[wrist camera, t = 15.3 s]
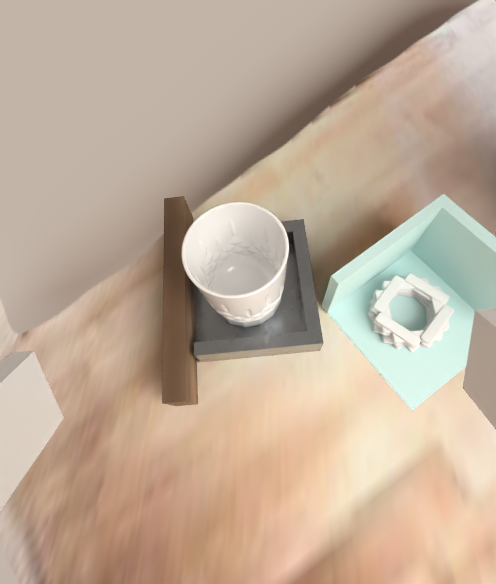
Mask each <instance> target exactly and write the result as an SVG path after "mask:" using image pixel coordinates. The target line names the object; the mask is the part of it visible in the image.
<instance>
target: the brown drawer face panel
mask: <svg viewBox="0 0 496 584" xmlns="http://www.w3.org/2000/svg"><path fill="white" fill-rule="evenodd" d="M192 223H193V217H192V214H191V212H190V210H189V207H188V205H187V203H186V201H185V198H184V197H183V196H182V197H174V198H166V199H164V290H163V391H162V403H164V404H169V405H174V406H181V405H192V404H198V394H197V362H195V356H194V342H195V330H194V288H193V282H192V281H191V279H190V278H189V276H188V275H187V273H186V271H185V269H184V266H183V262H182V244H183V240H184V237H185V235H186V233H187V231H188V229H189V228H190V226H191V225H192Z"/></svg>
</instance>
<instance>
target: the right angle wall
mask: <svg viewBox="0 0 496 584" xmlns="http://www.w3.org/2000/svg"><path fill="white" fill-rule="evenodd" d="M322 308H323V309H324V310H325V311H326V312H327V313H328V315H329V316H330V317H331V318H332V319H333V320H334V321H335V323H336V324H337V325H338V326H339V327H340V328H341V330H342V331H343V332H344V333H345V334H346V335H347V336H348V338H349V339H350V340H351V341H352V342H353V343H354V345H355V346H356V347H357V348H358V349H359V350H360V351H361V353H362V354H363V355H364V356H365V357H366V358H367V359H368V361H369V362H370V363H371V364H372V365H373V366H374V368H375V369H376V370H377V371H378V372H379V373H380V374H381V376H382V377H383V378H384V379H385V380H386V381H387V383H388V384H389V385H390V386H391V387H392V388H393V389H394V391H395V392H396V393H397V394H398V395H399V396H400V398H401V399H402V400H403V401H404V402H405V403H406V404H407V406H408V407H409V408H410V409H411V410H412V411H413V410H414V409H415V408H416V407H418V406H419V405H420V404H421V403H422V402H424V401H425V400H426V399H427V398H428V397H430V396H431V395H432V394H433V393H434V392H436V391H437V390H438V389H439V388H440V387H442V386H443V385H444V384H445V383H446V382H448V381H449V380H450V379H451V378H452V377H454V376H455V375H456V374H457V373H458V372H460V371H461V370H462V369H463V368H464V367H466V364H467V358H468V351H469V345H470V339H471V332H472V326H473V319H474V313H475V310H479V309H490V308H496V237H495V236H494V235H493V234H491V233H490V232H489V231H488V230H487V229H485V228H484V227H483V226H482V225H481V224H479V223H478V222H477V221H476V220H475V219H473V218H472V217H471V216H470V215H469V214H467V213H466V212H465V211H464V210H463V209H461V208H460V207H459V206H458V205H457V204H455V203H454V202H453V201H452V200H451V199H449V198H448V197H447V196H446V195H445V194H442V195H441V196H440V197H438V198H437V199H436V200H434V201H433V202H431V203H430V204H429V205H427V206H426V207H425V208H423V209H422V210H420V211H419V212H418V213H416V214H415V215H414V216H412V217H411V218H410V219H408V220H407V221H405V222H404V223H403V224H401V225H400V226H399V227H397V228H396V229H394V230H393V231H392V232H390V233H389V234H388V235H386V236H385V237H383V238H382V239H381V240H379V241H378V242H377V243H375V244H374V245H373V246H371V247H370V248H368V249H367V250H366V251H364V252H363V253H362V254H360V255H359V256H357V257H356V258H355V259H353V260H352V261H351V262H349V263H348V264H347V265H345V266H344V267H342V268H341V269H340V270H338V271H337V272H336V273H334V274H333V275H331V278H330V281H329V284H328V287H327V290H326V293H325V297H324V300H323V303H322Z"/></svg>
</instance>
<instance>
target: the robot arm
mask: <svg viewBox="0 0 496 584" xmlns="http://www.w3.org/2000/svg"><path fill="white" fill-rule="evenodd" d="M463 389H464V390H465V391H466V393H467V394H468V395H469V396H470V398H471V399H472V400H473V401H474V403H475V404H476V405H477V406H478V408H479V409H480V410H481V411H482V413H483V414H484V415H485V416H486V418H487V419H488V420H489V421H490V423H491V424H492V425H493V426H494V428H495V429H496V308H490V309H479V310H475V313H474V319H473V326H472V332H471V339H470V345H469V351H468V358H467V364H466V370H465V377H464V383H463ZM63 419H64V417H63V415H62V413H61V411H60V409H59V406H58V404H57V402H56V400H55V397H54V395H53V393H52V391H51V388H50V386H49V384H48V382H47V379H46V377H45V375H44V373H43V370H42V368H41V366H40V364H39V361H38V359H37V357H36V355H35V352H34V351H28V352H18V353H10V354H9V355H8V356H7V357H6V358H5V359H3V360H2V361H1V362H0V511H1V510H2V508H3V507H4V505H5V504H6V502H7V501H8V499H9V498H10V496H11V495H12V494H13V492H14V491H15V489H16V488H17V486H18V485H19V483H20V482H21V480H22V479H23V477H24V476H25V475H26V473H27V472H28V470H29V469H30V467H31V466H32V464H33V463H34V461H35V460H36V458H37V457H38V456H39V454H40V453H41V451H42V450H43V448H44V447H45V445H46V444H47V442H48V441H49V439H50V438H51V437H52V435H53V434H54V432H55V431H56V429H57V428H58V426H59V425H60V423H61V422H62V420H63Z"/></svg>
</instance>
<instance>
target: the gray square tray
mask: <svg viewBox="0 0 496 584" xmlns="http://www.w3.org/2000/svg"><path fill="white" fill-rule="evenodd" d="M281 223H282V225H283V226H284V228H285V230H286V233H287V236H288V241H289V253H288V261H287V269H286V277H285V282H284V288H283V292H282V295H281V302H280V304H279V306H278V308H277V310H276V312H275V314H274V315H273V316H272V317H271V318H269V319H268V320H266V321H265V322H264V323H262V324H261V325H256V326H251V327H246V328H245V327H241V326H237V325H233V324H230V323H229V322H228V321H227V320H225V319H224V318H223V317H222V316H221V315H219V314H218V312H217V311H216V310H215V309H214V308H213V307H212V306H211V305H210V304H209V303H208V301H207V300H206V299H205V298H204V296H203V295H202V294H201V292H200V291H199V290H198V288H197V287H196V286H195V284H194V283H193V288H194V330H195V342H194V356H195V362H206V361H217V360H227V359H238V358H248V357H258V356H269V355H279V354H289V353H300V352H310V351H320V349H321V347H322V345H323V338H322V332H321V326H320V319H319V313H318V307H317V301H316V294H315V288H314V282H313V276H312V269H311V263H310V257H309V250H308V244H307V238H306V232H305V225H304V219H302V220H293V221H285V222H281Z"/></svg>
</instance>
